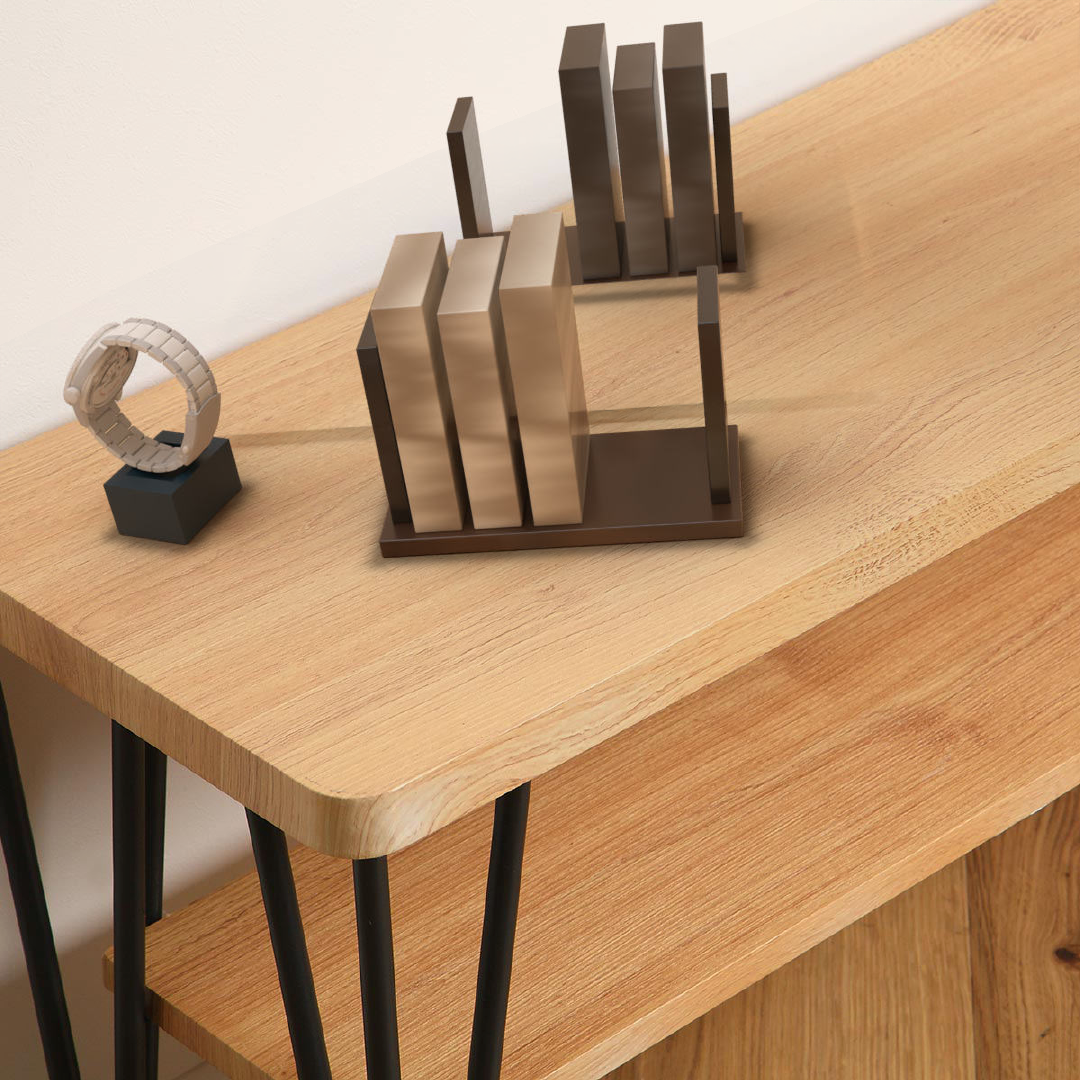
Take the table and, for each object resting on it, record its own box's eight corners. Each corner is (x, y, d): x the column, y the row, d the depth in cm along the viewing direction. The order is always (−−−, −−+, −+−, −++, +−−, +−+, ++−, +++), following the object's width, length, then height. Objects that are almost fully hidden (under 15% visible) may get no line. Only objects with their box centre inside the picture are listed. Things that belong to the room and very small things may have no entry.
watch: (148, 473, 91) (93, 297, 85) (269, 491, 88) (221, 309, 82) (88, 529, 87) (26, 348, 81) (213, 550, 84) (158, 363, 77)
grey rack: (743, 225, 108) (731, 7, 100) (747, 285, 101) (734, 56, 93) (477, 247, 110) (443, 35, 102) (462, 307, 103) (425, 85, 95)
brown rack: (738, 439, 86) (723, 193, 78) (743, 537, 79) (727, 275, 71) (406, 461, 89) (359, 224, 81) (381, 557, 81) (327, 307, 73)
